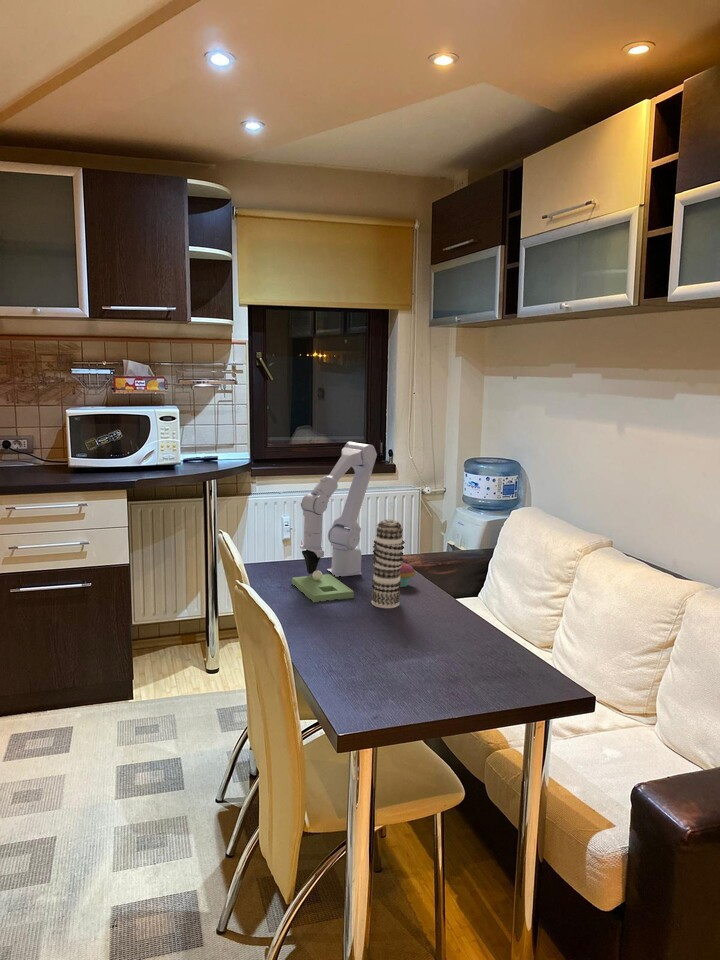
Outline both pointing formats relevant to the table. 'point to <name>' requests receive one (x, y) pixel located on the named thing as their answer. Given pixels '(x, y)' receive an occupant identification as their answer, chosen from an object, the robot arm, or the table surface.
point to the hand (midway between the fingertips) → (311, 573)
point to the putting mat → (322, 588)
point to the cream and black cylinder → (387, 564)
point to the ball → (317, 575)
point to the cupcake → (405, 574)
